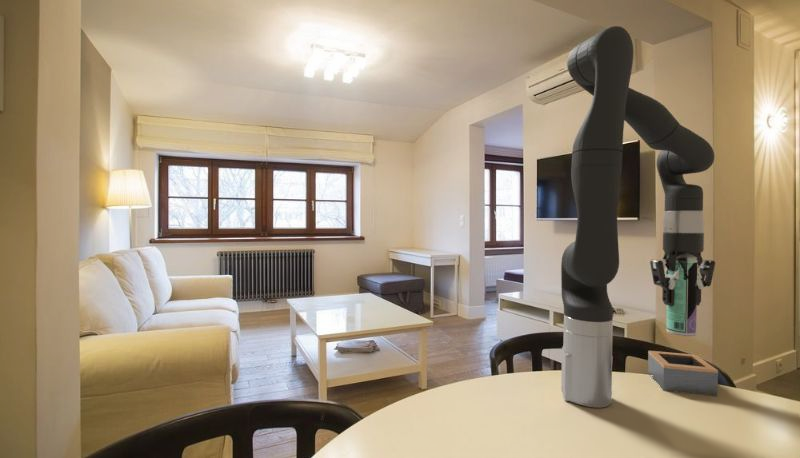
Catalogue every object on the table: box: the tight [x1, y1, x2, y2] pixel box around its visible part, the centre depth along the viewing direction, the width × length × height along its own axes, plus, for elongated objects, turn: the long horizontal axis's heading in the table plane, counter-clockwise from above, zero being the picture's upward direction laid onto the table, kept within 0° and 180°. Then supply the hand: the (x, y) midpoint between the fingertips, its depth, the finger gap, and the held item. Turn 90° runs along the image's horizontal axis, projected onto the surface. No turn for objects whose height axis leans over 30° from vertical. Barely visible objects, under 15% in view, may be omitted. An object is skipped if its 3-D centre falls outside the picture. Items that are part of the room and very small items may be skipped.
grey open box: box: [647, 350, 719, 397], centre depth 87 cm, size 10×10×6 cm
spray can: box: [665, 253, 698, 337], centre depth 87 cm, size 6×6×20 cm
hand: (681, 304), depth 87 cm, fingers closed on spray can, 5 cm apart
